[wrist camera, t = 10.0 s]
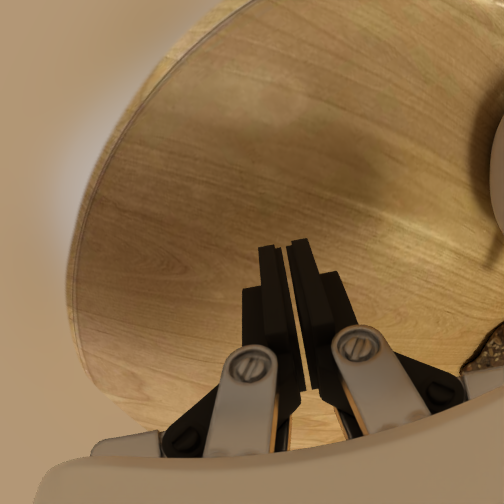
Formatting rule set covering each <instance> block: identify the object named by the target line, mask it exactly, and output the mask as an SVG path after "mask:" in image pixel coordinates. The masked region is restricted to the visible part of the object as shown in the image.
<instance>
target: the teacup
mask: <svg viewBox="0 0 504 504" xmlns="http://www.w3.org/2000/svg"><path fill="white" fill-rule="evenodd" d="M490 196H491V203H492V208H493V211H494V215H495V219H496V221H497V223H498V226H499V228H500V230H501V231H502V233H503V235H504V115H503V117H502V119H501V122H500V124H499V126H498V128H497V131H496V134H495V137H494V141H493V145H492V151H491V160H490Z"/></svg>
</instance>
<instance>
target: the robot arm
mask: <svg viewBox="0 0 504 504" xmlns="http://www.w3.org/2000/svg"><path fill="white" fill-rule="evenodd" d="M291 243H292V245H290V246H286V249H287V255H288V260H289V266H290V272H291V277H292V283H293V289H294V294H295V300H296V306H297V312H298V317H299V322H300V327H301V332H302V338H303V343H304V348H305V354H306V359H307V365H308V370H309V376H310V382H311V387H312V390H313V389H319V394H320V397H321V398H322V400H323V401H325V402H327V403H329V404H330V405H332V406H333V407H334V412H335V414H336V417H337V419H338V421H339V424H340V426H341V429H342V431H343V434H344V437H345V439H346V441H341V442H337V443H332V444H327V445H322V446H316V447H311V448H305V449H298V450H292V451H290V444H291V430H292V413H293V412H294V411H295V410H296V409H297V408H298V406H299V405H300V404H301V396H300V392H302V391H306V385H305V378H304V372H303V366H302V360H301V354H300V349H299V343H298V337H297V331H296V326H295V320H294V314H293V309H292V303H291V298H290V292H289V287H288V282H287V276H286V271H285V266H284V261H283V255H282V250H281V247H280V248H275V247H274V244H273V245H268V246H263V247H258V251H259V264H260V277H261V286H256V287H250V288H245V289H243V290H242V347H241V348H238V349H237V350H235V351H234V352H232V353H231V354H230V355H229V356H228V358H227V359H226V361H225V363H224V366H223V370H222V374H221V379H220V383H219V384H218V385H217V386H216V387H215V388H214V389H213V390H211V391H210V392H209V393H208V394H207V395H206V396H205V397H203V398H202V399H201V400H200V401H199V402H198V403H197V404H195V405H194V406H193V407H192V408H191V409H190V410H188V411H187V412H186V413H185V414H184V415H182V416H181V417H180V418H179V419H178V420H176V421H175V422H174V423H173V424H172V425H171V426H170V427H169V428H168V429H167V430H166V431H163V432H159V431H158V430H153V431H149V432H144V433H138V434H133V435H128V436H122V437H116V438H109V439H105V440H102V441H99V442H98V443H97V444H96V445H95V446H94V447H93V449H92V450H91V454H90V456H89V457H82V458H77V459H73V460H70V461H66V462H63V463H61V464H58V465H56V466H54V467H53V468H51V469H50V470H49V471H48V472H47V473H46V474H45V476H44V477H43V479H42V481H41V482H40V485H39V487H38V490H37V493H36V495H35V498H34V502H33V504H504V365H503V366H498V367H493V368H488V369H482V370H476V371H470V372H464V373H463V374H462V376H458V377H456V376H454V375H452V374H450V373H448V372H445V371H443V370H440V369H437V368H435V367H432V366H430V365H427V364H424V363H422V362H419V361H417V360H414V359H412V358H409V357H406V356H404V355H401V354H399V353H396V352H394V351H393V350H392V349H391V347H390V346H389V344H388V343H387V341H386V339H385V338H384V336H383V335H382V334H381V333H380V332H379V331H378V330H377V329H375V328H373V327H371V326H367V325H358V322H357V319H356V317H355V314H354V311H353V309H352V306H351V304H350V301H349V299H348V296H347V294H346V291H345V289H344V286H343V284H342V281H341V279H340V276H339V274H338V272H337V271H333V272H328V273H323V274H319V271H318V268H317V265H316V263H315V260H314V257H313V254H312V251H311V248H310V245H309V242H308V239H307V238H304V239H299V240H294V241H291Z"/></svg>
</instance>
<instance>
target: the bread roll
mask: <svg viewBox="0 0 504 504" xmlns="http://www.w3.org/2000/svg"><path fill="white" fill-rule="evenodd" d="M503 365H504V324H502V325H501V326H500V327H498V328H497V329H496V330H495V332H494V333H493V334H492V336H491V337H490V339H489V340H488V342H487V344H486V346H485V347H484V349H483V350H482V352H481V355H480V356H479V357H477V359H476V360H475V361H473V362H470V363H469V364H467V365H466V366H465V367H464V368H463V369H462V371H461V372H460V375H461V376H462V374H463V373H464V372H470V371H476V370H482V369H488V368H493V367H498V366H503Z"/></svg>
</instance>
